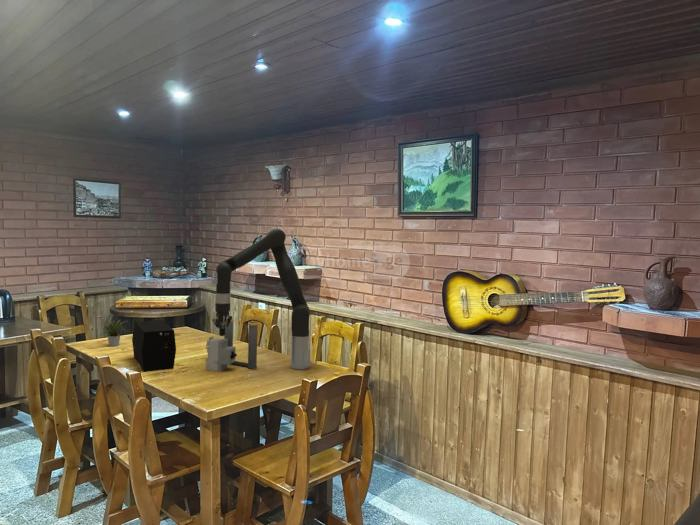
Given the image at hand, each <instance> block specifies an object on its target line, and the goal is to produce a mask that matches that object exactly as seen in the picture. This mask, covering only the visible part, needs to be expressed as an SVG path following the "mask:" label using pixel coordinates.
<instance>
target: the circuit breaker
mask: <svg viewBox="0 0 700 525" xmlns="http://www.w3.org/2000/svg"><path fill="white" fill-rule="evenodd" d="M205 346H206V350H207V349H208V353H207V360H205V370H206V371H213V372H222V371H223V370H226V369H227V368H228V366H229V365H232V364H231V363H233V362H235V361H236V357H237V356H238V354H237V352H236V349H237V347H236V346H233V347H231V346H228V339H224V338H220V337H218V338H216V337H214V338H213V339H211V340H209V339H208V340H206V345H205Z"/></svg>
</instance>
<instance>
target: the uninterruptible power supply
mask: <svg viewBox="0 0 700 525" xmlns="http://www.w3.org/2000/svg"><path fill="white" fill-rule="evenodd" d="M175 334H176V333H175V330H174V328H173V327H171V326H170V325H168V324H167V323H166V322H165V321H164V320H163V319H158V320H157V319H156V320H145V321H143V320H142V321H141V320H139V321H138V320H137V321H134V323H133V330H132V338H131V342H132V343H131V344H132V349H133V350H132V351H133V358H134V359H135V361H136V362H137V364H138V365H139V367H140V369H141V370H142V371H143V373H146V372H157V371H167V370H168V371H169V370H173V369H174V366H175V360H176V354H177V345H176V336H175Z"/></svg>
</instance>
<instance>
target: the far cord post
mask: <svg viewBox="0 0 700 525" xmlns="http://www.w3.org/2000/svg"><path fill="white" fill-rule="evenodd" d="M234 322H235V318H232V320H231V322H230V324H229V326H228V327H226V328H225V335H224V336H223V337H224V338H223V339H228V346H231V347H234V346H233V345H234V344H233V343H234ZM230 365H233V364H232V363H231V364H230Z"/></svg>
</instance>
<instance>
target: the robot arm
mask: <svg viewBox="0 0 700 525" xmlns="http://www.w3.org/2000/svg"><path fill="white" fill-rule="evenodd" d="M285 241H286V234H285V232H284V230H282V229H280V228H274V229H271V230H270V231H269V232H268V233H267V235H265V236H264V237H263V238H262V239H259V241H257V242H255V243H253V244H252V245H250V246H248V247H246V248H244V249H243V250H241V251H239V252H237V253H236V254H234V255H232V257H229V258H227V259H225V260H224V261H221V262H220V263H218V264H217V266H216V268H215V271H216V274H217V277H216V278H217V280H216V285H215V289H216V290H215V300H214V301H215V302H214V304H215V305H214V307H215V309H214V311H215V312H216V314H215V317H214V318H212V322H213V323H214V326H215V327H216V328H217V329H219V332H218V333H219V334H218V335H219V336H220V337H224V335H225V328H226V327H228V326H229V324H230V322H231V320H232V319H233V316H231V315H230V311H231V300H232V299H231V298H232V297H231V280H232V272H234V271H235V270H237V269H240V268H242V267H244V266H246V265H247V264H249V263H251V262H252V261H254V260H255V259H257V257H259V256H261V255H262V254H264V253H265V252H267V251H270V250H271V251H270V252H271V253H272V255H273V258H274V260H275V261H274V262H275V266H276V269H277V273H278V277H279V279H280V282H281V285H282V286H283V289H284V290H285V292H286V294H287V295H288V297H289V299H290V303H291V308H292V312H291V319H290V320H291V321H290V322H291V327H290V328H291V346H290V347H291V348H290V368H291V369H293V370H303V371H304V370H306V369H309V368H310V367H311V349H310V317H311V310H310V308H309V306H308V305H309V304H308V303H307V301H306V299H305V297H304V295H303V291H302V285H301V282H300V278H299V276H298V272H297V269H296V267H295V265H294V263H293V261H292V259H291V257H290V256H289V254H288V252H287V248H286V244H285V243H286V242H285Z"/></svg>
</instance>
